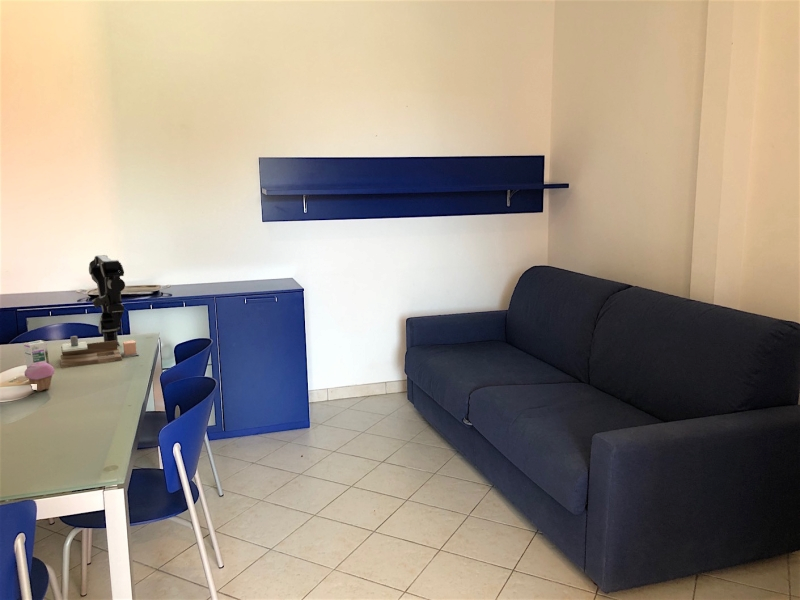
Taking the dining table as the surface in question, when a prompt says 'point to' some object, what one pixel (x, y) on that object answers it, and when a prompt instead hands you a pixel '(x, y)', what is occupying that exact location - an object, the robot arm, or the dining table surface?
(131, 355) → the grey pad
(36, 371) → the cupcake
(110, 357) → the walnut board
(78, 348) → the sliding cover
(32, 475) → the dining table surface
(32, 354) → the syrup box
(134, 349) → the terracotta block
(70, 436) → the dining table surface
